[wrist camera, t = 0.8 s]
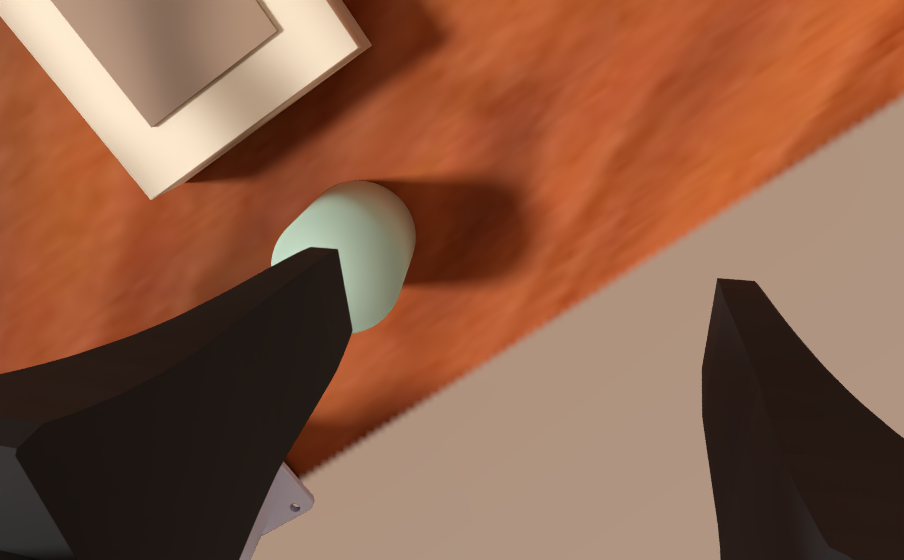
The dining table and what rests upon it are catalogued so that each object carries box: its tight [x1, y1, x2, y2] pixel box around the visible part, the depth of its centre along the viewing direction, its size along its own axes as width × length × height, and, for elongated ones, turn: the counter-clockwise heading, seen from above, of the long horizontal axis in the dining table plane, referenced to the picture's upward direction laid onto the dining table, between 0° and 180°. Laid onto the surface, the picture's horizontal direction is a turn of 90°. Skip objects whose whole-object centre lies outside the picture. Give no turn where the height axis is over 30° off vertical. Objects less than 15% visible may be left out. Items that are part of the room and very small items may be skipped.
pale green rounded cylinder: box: [271, 180, 416, 334], centre depth 27 cm, size 5×5×5 cm
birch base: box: [0, 0, 372, 200], centre depth 25 cm, size 10×10×3 cm
